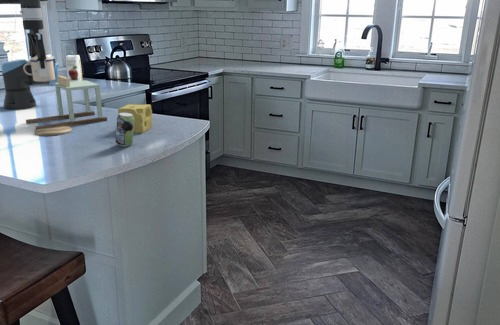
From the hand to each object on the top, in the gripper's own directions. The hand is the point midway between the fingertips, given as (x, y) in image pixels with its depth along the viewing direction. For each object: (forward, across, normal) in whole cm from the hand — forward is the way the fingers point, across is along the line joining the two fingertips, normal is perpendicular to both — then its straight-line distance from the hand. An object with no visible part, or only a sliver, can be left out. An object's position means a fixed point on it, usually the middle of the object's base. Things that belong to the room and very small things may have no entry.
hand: (40, 75), depth 201 cm
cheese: (+21, +34, +26) cm, 48 cm away
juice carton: (+23, -110, +48) cm, 123 cm away
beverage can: (+21, +54, +13) cm, 59 cm away
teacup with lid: (+2, 0, 0) cm, 3 cm away
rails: (+21, 0, +8) cm, 23 cm away
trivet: (+21, +16, -2) cm, 26 cm away
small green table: (+20, 0, +15) cm, 25 cm away
